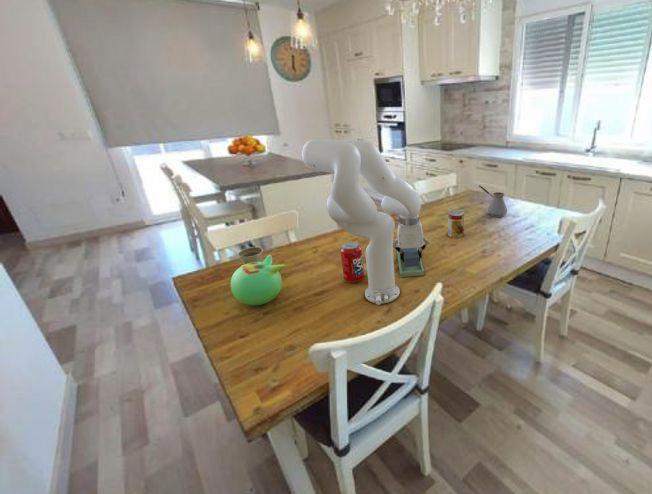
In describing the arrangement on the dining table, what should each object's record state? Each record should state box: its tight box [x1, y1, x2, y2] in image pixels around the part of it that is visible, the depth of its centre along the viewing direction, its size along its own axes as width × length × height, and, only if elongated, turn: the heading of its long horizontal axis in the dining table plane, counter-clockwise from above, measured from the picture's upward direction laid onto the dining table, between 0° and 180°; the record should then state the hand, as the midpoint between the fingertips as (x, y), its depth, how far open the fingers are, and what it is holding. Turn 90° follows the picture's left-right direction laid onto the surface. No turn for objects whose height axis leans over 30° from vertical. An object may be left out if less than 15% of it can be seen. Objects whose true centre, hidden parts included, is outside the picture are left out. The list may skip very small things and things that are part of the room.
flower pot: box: [237, 246, 264, 265], centre depth 132 cm, size 9×9×9 cm
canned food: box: [447, 209, 465, 239], centre depth 162 cm, size 8×8×12 cm
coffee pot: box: [478, 184, 508, 218], centre depth 190 cm, size 21×12×15 cm, turn 39°
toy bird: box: [229, 254, 286, 306], centre depth 112 cm, size 18×17×15 cm
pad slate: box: [403, 248, 420, 267], centre depth 132 cm, size 9×6×4 cm, turn 7°
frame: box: [396, 248, 425, 278], centre depth 138 cm, size 23×10×2 cm, turn 7°
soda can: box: [339, 241, 365, 284], centre depth 124 cm, size 8×8×15 cm
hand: (411, 259), depth 132 cm, fingers closed on pad slate, 6 cm apart
